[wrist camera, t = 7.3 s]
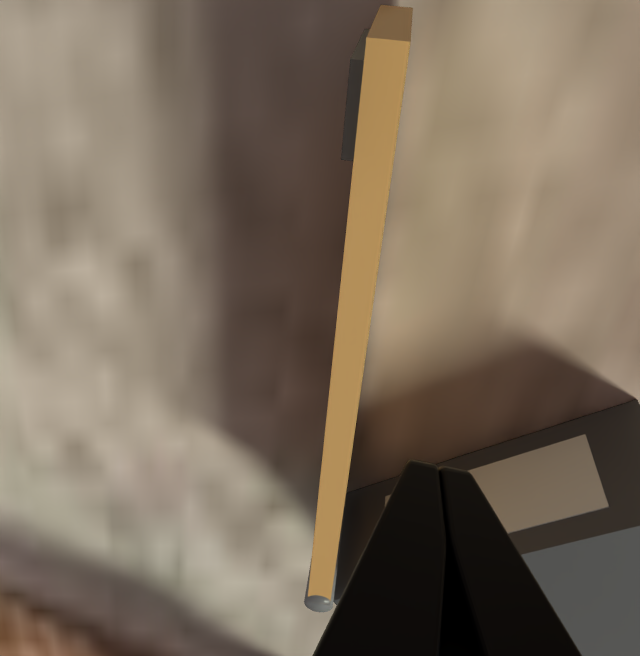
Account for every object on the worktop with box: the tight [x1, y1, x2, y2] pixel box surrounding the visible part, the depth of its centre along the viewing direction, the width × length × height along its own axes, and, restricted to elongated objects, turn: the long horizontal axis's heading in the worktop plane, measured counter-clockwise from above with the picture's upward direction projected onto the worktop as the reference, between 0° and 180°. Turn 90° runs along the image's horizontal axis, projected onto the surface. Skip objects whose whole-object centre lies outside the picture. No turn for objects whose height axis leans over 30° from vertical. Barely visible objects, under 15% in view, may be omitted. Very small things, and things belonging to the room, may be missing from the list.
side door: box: [304, 5, 413, 612], centre depth 18 cm, size 18×1×5 cm, turn 176°
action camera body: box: [333, 400, 640, 656], centre depth 23 cm, size 13×8×6 cm, turn 122°
